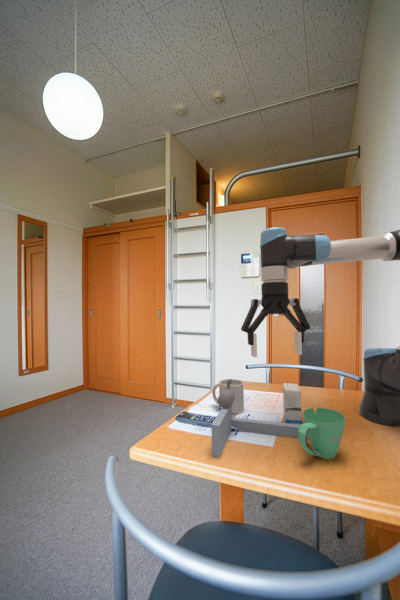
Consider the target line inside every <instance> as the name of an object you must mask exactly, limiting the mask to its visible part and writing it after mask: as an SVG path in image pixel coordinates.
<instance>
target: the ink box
mask: <svg viewBox="0 0 400 600" xmlns="http://www.w3.org/2000/svg"><path fill="white" fill-rule="evenodd" d="M282 392H283V394H282V395H283V396H282V398H283V420H284V423H289V424H298V425H301V424H303V416H302V414H303V413H302V392H301V389H300V387H299V385H298V384H297V383H289V382H288V383H287V382H284V383H282Z"/></svg>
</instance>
